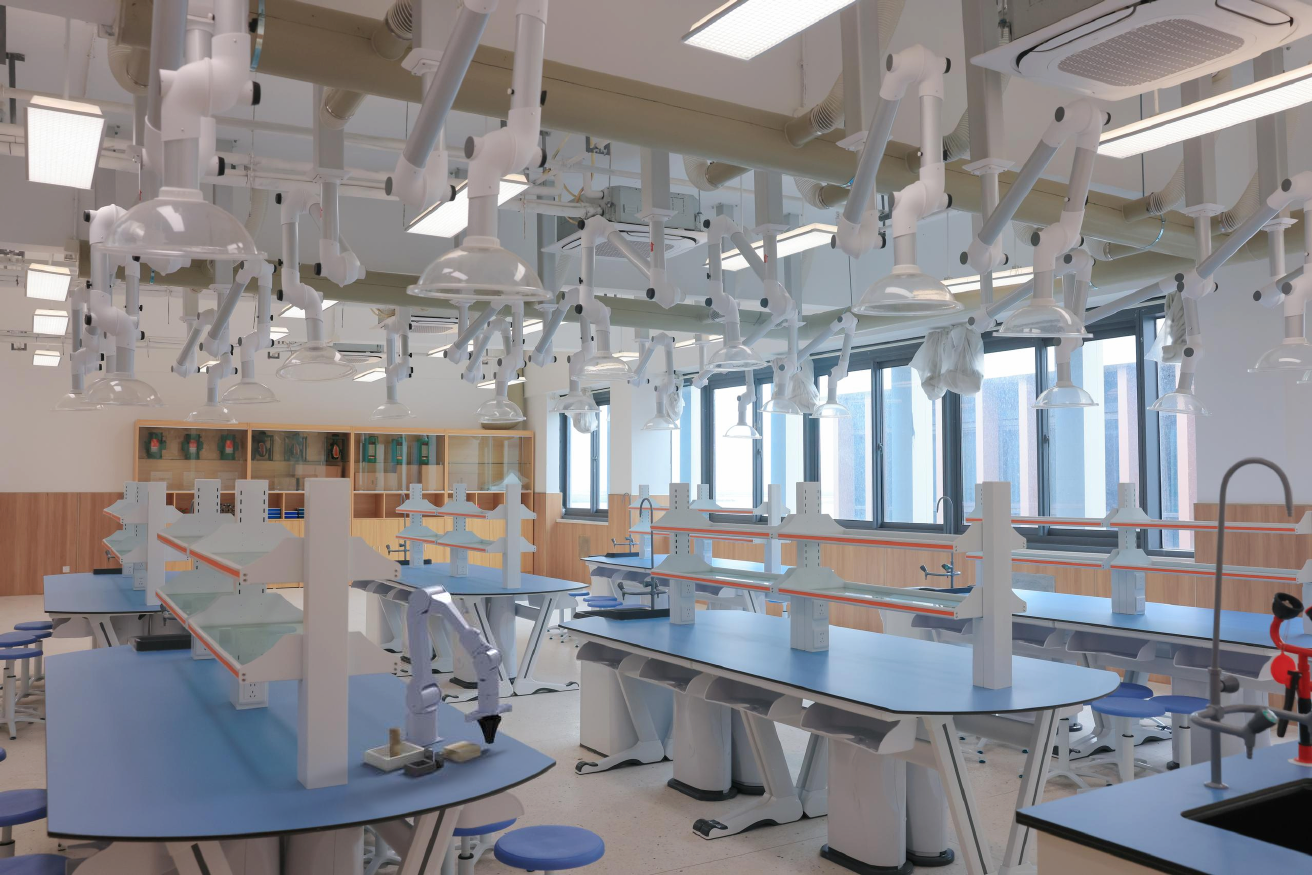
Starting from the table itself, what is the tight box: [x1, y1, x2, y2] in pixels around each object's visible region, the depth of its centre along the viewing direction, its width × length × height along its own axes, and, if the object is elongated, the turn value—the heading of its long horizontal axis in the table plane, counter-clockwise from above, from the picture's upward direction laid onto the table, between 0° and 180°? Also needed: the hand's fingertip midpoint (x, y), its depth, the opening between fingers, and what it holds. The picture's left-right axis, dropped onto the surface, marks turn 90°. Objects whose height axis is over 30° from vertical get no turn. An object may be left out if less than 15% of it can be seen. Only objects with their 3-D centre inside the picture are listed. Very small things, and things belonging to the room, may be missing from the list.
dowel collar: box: [403, 758, 437, 777], centre depth 243 cm, size 6×6×2 cm
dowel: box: [388, 726, 402, 758], centre depth 252 cm, size 3×3×8 cm
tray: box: [364, 740, 426, 773], centre depth 252 cm, size 12×12×3 cm
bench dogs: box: [424, 747, 445, 769], centre depth 249 cm, size 7×2×4 cm, turn 46°
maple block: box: [442, 740, 482, 763], centre depth 255 cm, size 7×7×3 cm
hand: (489, 742), depth 261 cm, fingers closed
